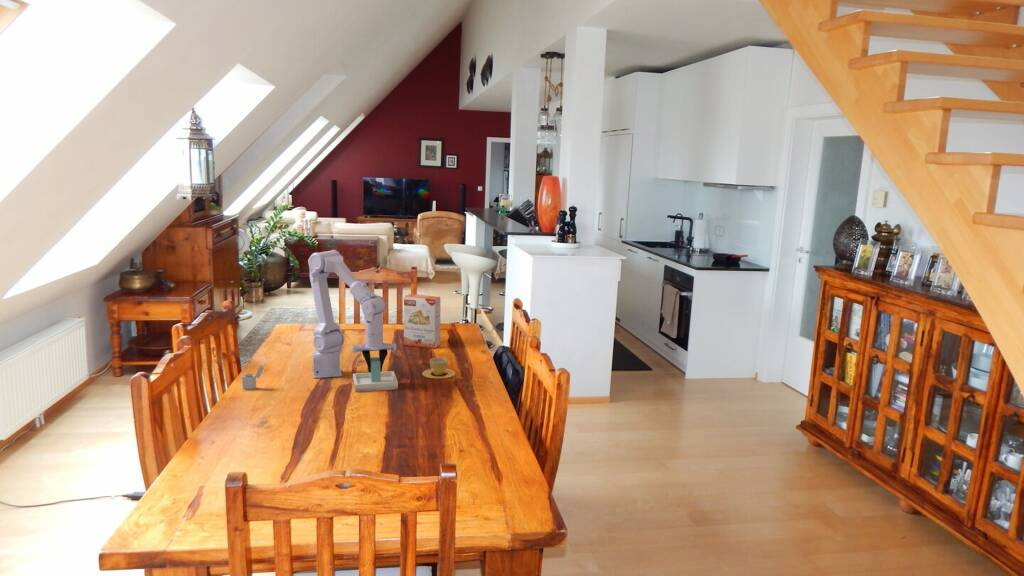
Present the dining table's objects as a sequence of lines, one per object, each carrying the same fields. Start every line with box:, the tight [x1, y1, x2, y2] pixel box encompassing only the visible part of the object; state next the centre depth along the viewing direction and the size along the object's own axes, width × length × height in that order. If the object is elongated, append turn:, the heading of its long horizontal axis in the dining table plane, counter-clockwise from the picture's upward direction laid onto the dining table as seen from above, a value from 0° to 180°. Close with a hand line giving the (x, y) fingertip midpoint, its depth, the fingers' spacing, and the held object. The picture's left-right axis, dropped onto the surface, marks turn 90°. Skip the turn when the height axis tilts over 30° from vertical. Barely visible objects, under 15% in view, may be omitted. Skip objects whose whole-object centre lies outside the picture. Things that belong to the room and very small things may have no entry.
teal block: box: [370, 356, 381, 382], centre depth 237 cm, size 6×3×7 cm, turn 17°
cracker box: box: [403, 293, 441, 350], centre depth 285 cm, size 14×6×21 cm, turn 73°
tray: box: [352, 370, 399, 393], centre depth 238 cm, size 14×12×2 cm
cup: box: [421, 357, 456, 380], centre depth 251 cm, size 12×12×5 cm
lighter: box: [241, 364, 266, 390], centre depth 231 cm, size 7×2×8 cm, turn 99°
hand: (374, 371), depth 237 cm, fingers closed on teal block, 3 cm apart
